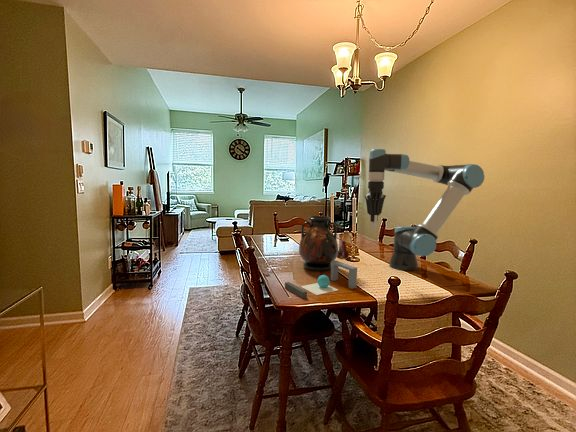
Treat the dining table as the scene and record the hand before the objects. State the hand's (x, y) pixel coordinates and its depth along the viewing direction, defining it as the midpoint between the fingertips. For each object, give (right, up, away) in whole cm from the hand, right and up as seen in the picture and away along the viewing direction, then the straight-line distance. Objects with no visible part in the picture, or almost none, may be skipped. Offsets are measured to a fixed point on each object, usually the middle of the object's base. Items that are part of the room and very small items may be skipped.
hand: (373, 228), depth 157 cm
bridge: (-17, -26, -11) cm, 33 cm away
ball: (-27, -23, -17) cm, 40 cm away
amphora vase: (-27, -23, +15) cm, 38 cm away
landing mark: (-29, -26, -19) cm, 44 cm away
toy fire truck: (-9, -20, +41) cm, 46 cm away
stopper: (-40, -27, -24) cm, 54 cm away
